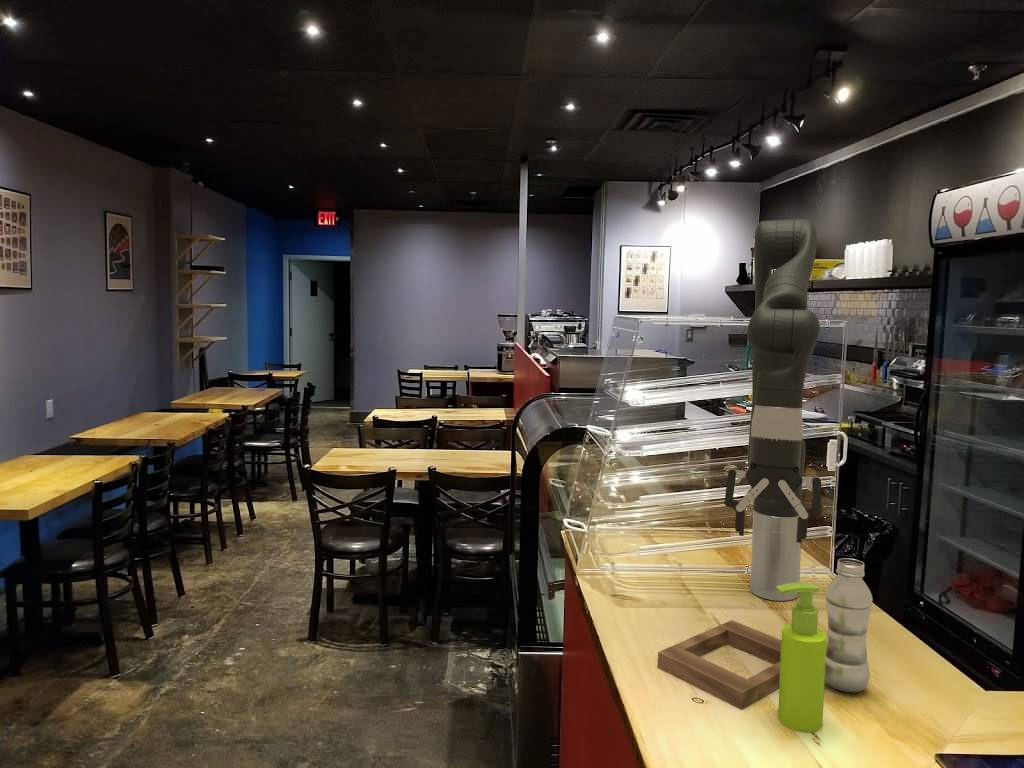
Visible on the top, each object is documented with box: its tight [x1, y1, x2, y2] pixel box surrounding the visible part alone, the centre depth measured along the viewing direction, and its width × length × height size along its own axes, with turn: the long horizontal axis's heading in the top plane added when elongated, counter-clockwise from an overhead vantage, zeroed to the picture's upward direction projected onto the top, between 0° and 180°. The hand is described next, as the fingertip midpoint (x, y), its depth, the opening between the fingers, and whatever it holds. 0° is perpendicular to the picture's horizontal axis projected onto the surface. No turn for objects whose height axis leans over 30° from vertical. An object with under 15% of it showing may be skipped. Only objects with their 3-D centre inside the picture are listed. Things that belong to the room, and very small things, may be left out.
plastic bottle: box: [824, 557, 874, 693], centre depth 111 cm, size 6×7×20 cm
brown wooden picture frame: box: [657, 619, 781, 710], centre depth 118 cm, size 20×16×2 cm
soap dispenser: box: [776, 582, 828, 733], centre depth 102 cm, size 6×7×20 cm
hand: (769, 538), depth 114 cm, fingers open, 8 cm apart
